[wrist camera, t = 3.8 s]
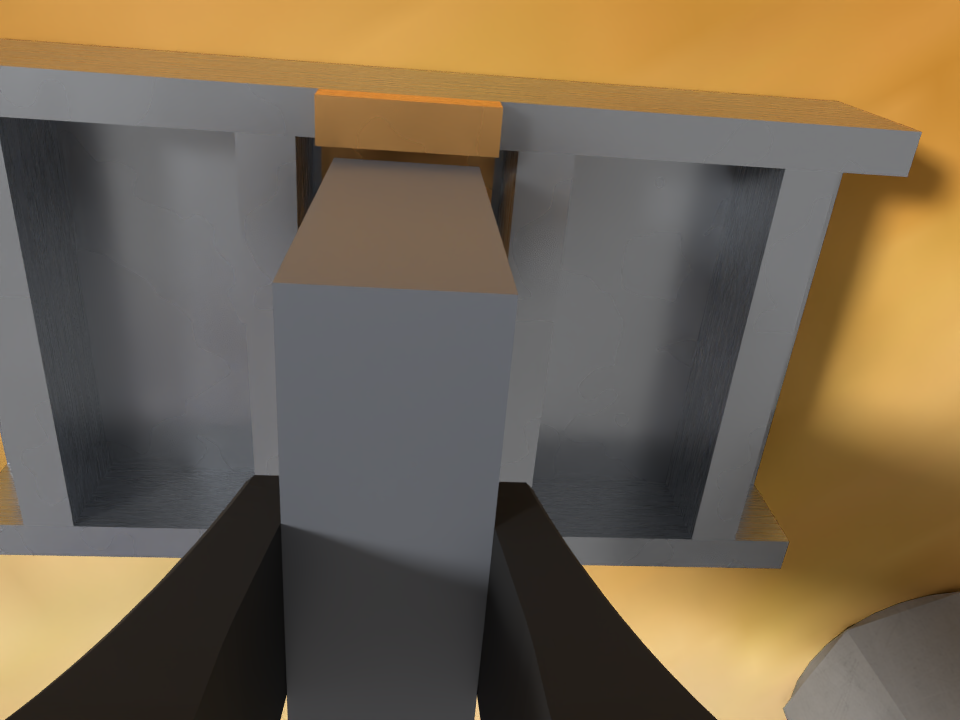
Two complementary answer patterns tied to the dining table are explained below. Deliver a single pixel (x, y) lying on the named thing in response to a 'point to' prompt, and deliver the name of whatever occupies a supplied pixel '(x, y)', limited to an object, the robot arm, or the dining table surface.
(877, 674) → the coffeepot
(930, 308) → the dining table surface
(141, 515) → the rack
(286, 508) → the block
